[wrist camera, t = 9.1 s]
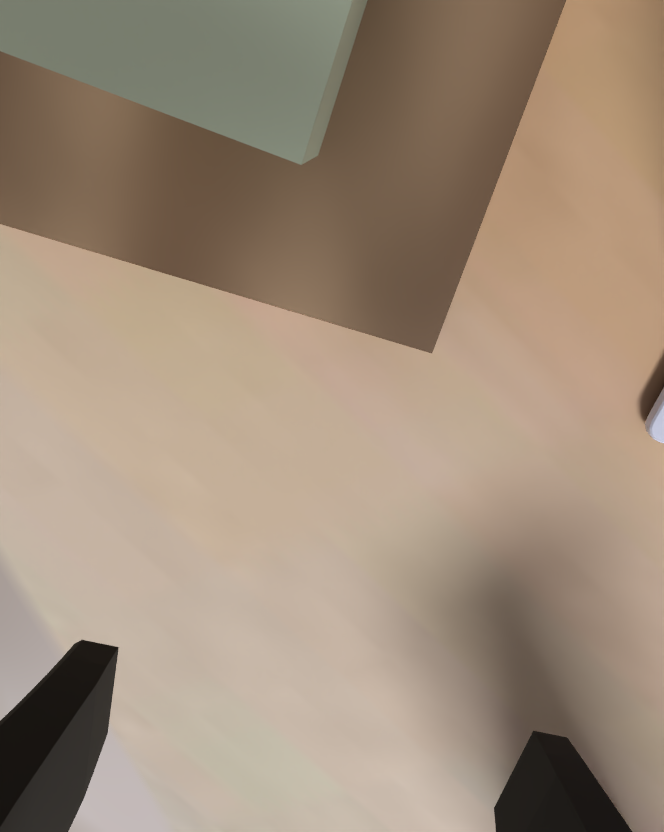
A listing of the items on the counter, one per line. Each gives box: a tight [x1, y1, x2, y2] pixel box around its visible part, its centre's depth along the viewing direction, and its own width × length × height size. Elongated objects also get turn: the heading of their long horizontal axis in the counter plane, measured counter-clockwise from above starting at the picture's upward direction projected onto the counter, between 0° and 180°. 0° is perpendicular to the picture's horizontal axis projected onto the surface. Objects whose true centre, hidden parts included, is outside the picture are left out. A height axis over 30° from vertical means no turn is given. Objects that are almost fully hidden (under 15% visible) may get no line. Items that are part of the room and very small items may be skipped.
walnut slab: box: [0, 0, 566, 353], centre depth 14 cm, size 12×12×3 cm
